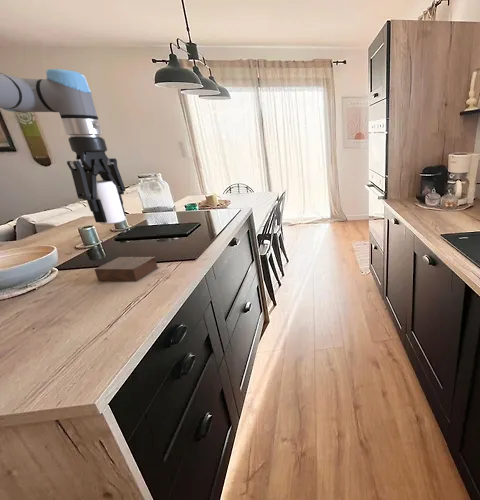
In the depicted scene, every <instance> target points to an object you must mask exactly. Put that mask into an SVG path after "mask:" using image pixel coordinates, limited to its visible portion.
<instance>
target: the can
mask: <svg viewBox="0 0 480 500" xmlns="http://www.w3.org/2000/svg"><path fill="white" fill-rule="evenodd" d="M96 183H97V199H100V200H101V204H102V207H103V210H104V213H105V216H106V219H107V222H98V224H100V225H115V224H119V223H123V222H125V220H126V216H124V212H123V209H122V205H121V202H120V198H119V195H118V192H117V188H116V186H115V184H114V183H113V182H112V180H110V181H105V180H103V179H101V180H96ZM90 195H91V194H90Z"/></svg>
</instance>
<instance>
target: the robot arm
mask: <svg viewBox="0 0 480 500" xmlns="http://www.w3.org/2000/svg"><path fill="white" fill-rule="evenodd" d="M45 74H46V78H25V77H24V78H23V77H17V76H14V75H10V74H6V73H2V72H0V109H2V110H4V111H5V112H6V111H7V112H13V113H23V114H26V113H58V114H59V117H60V119H61V122H62V125H63V127H64V128H63V129H64V132H65V135H67V136H69V137H68V138H67V140H68V143H69V146H70V149H71V151H72V152H73V153H75V159H74V160H67V161H66V164H67V166H68V168H69V170H70V172H71V177H72V180H73V184H74V187H75V192H76V196H77V198H78V199H79V200H82V201H86V202H87V204H88V207H89V211H90V212H92V215H93V219H94V221H95V223H99V222H107V219H106V216H105V213H104V210H103V207H102V204H101V200H100V199H97V183H96V181H97V176H98V175H99V176H100V178H101V180H105V181H110V180H112V182H113V183H114V184H115V186H116V188H117V192H118V195H119V198H120V202H121V205H122V209H123V212H124V216H125V217H126V216H127V214H126V211H125V207H124V200H123V197H122V195H124V194H125V192H126V187H125V184H124V181H123V178H122V176H121V173H120V170H119V167H118V161H117V158H115V157H114V158H113V157H111V158H110V157H108V156H107V154H106V152H107V151H108V146H107V144H106V140H105V138H104V137H101V136H103V132H102V131H103V130H102V127H101V124H100V121H99V116H98V113H97V110H96V106H95V102H94V100H93V95H92V91H91V88H90V87H89V83H88V81H87V78H86V76H85V75H83V74H82V73H81V72H78V71H75V70H70V69H64V68H63V69H62V68H49V69H47V70H46V71H45ZM90 194H91V195H90Z"/></svg>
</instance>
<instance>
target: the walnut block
mask: <svg viewBox="0 0 480 500" xmlns="http://www.w3.org/2000/svg"><path fill="white" fill-rule="evenodd" d="M158 268H159V267H158V264H157V261H156V257H155V256H119V257H117V258H114V259H112V260H110V261H109V262H106V263H104V264H102V265H100V266H98V267H96V268H94V272H95V275H96V278H97V281H98V282H137V281H139V280H141V279H142V278H144V277H146V276H147V275H149V274H150V273H152V272H153V271H155V270H157V269H158Z"/></svg>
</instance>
